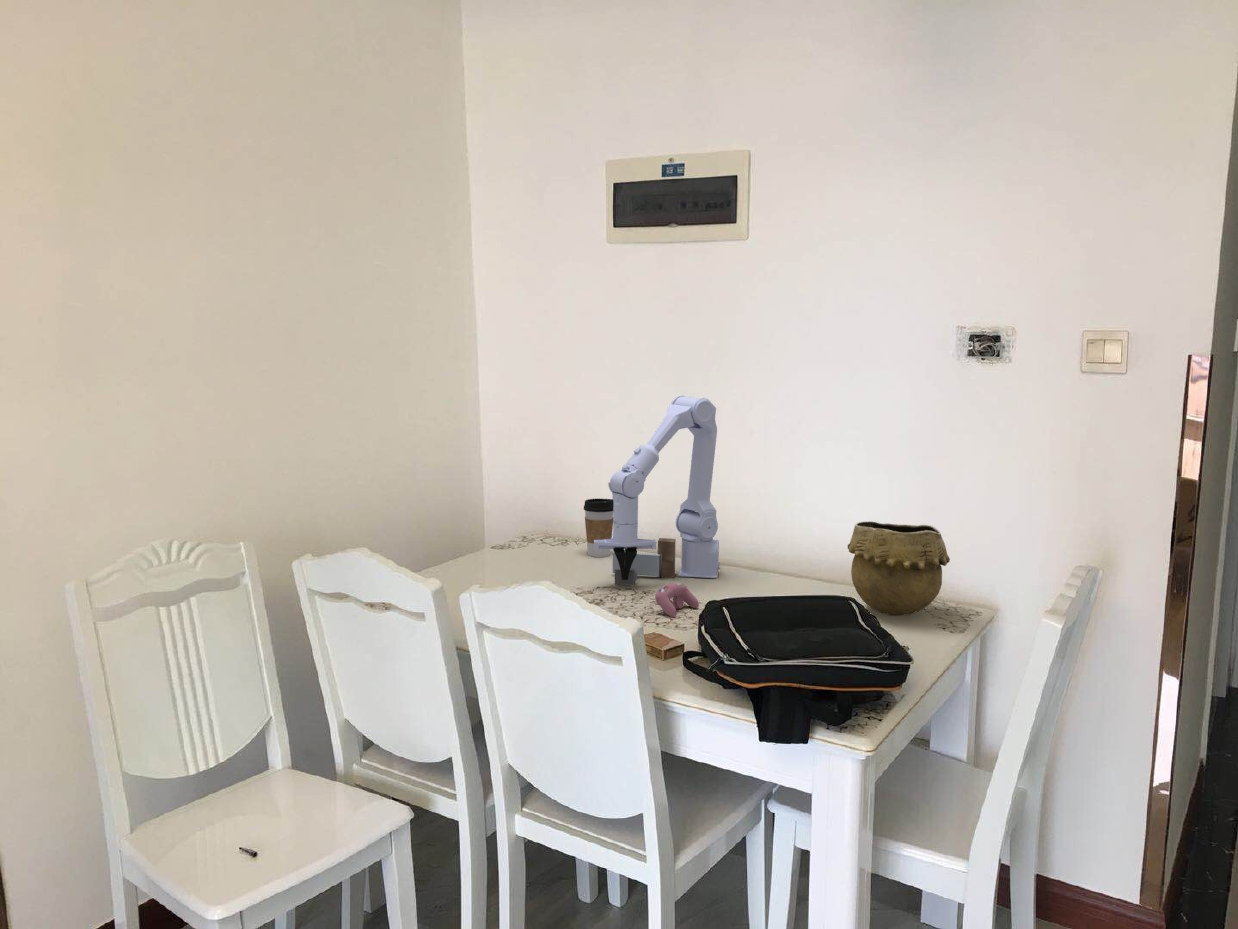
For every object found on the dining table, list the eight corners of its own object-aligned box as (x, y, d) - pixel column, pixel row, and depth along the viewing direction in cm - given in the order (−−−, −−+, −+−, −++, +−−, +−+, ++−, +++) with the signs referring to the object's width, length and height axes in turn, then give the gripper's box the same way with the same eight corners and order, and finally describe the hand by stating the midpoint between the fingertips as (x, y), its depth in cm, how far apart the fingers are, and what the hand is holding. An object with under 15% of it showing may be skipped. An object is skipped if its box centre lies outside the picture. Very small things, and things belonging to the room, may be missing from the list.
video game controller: (686, 612, 213) (675, 582, 214) (701, 606, 210) (690, 576, 211) (659, 622, 205) (648, 591, 206) (675, 617, 202) (664, 585, 203)
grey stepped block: (636, 577, 235) (637, 563, 235) (633, 585, 228) (633, 570, 228) (618, 576, 236) (618, 562, 235) (614, 584, 229) (614, 569, 228)
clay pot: (851, 595, 222) (855, 509, 219) (948, 605, 214) (954, 517, 211) (837, 620, 203) (841, 527, 200) (943, 633, 195) (949, 537, 192)
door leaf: (660, 574, 236) (661, 553, 235) (658, 576, 234) (659, 555, 233) (614, 570, 239) (615, 550, 238) (612, 573, 236) (612, 552, 236)
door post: (674, 574, 238) (675, 538, 237) (672, 579, 234) (673, 543, 232) (658, 573, 239) (659, 538, 238) (656, 578, 234) (657, 542, 233)
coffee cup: (601, 559, 252) (602, 503, 250) (576, 555, 257) (577, 499, 255) (620, 554, 259) (621, 499, 256) (596, 549, 264) (596, 495, 261)
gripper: (654, 518, 229) (653, 574, 231) (593, 518, 228) (592, 574, 230) (658, 524, 222) (656, 582, 224) (595, 525, 221) (594, 582, 223)
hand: (624, 578), depth 226 cm, fingers closed
